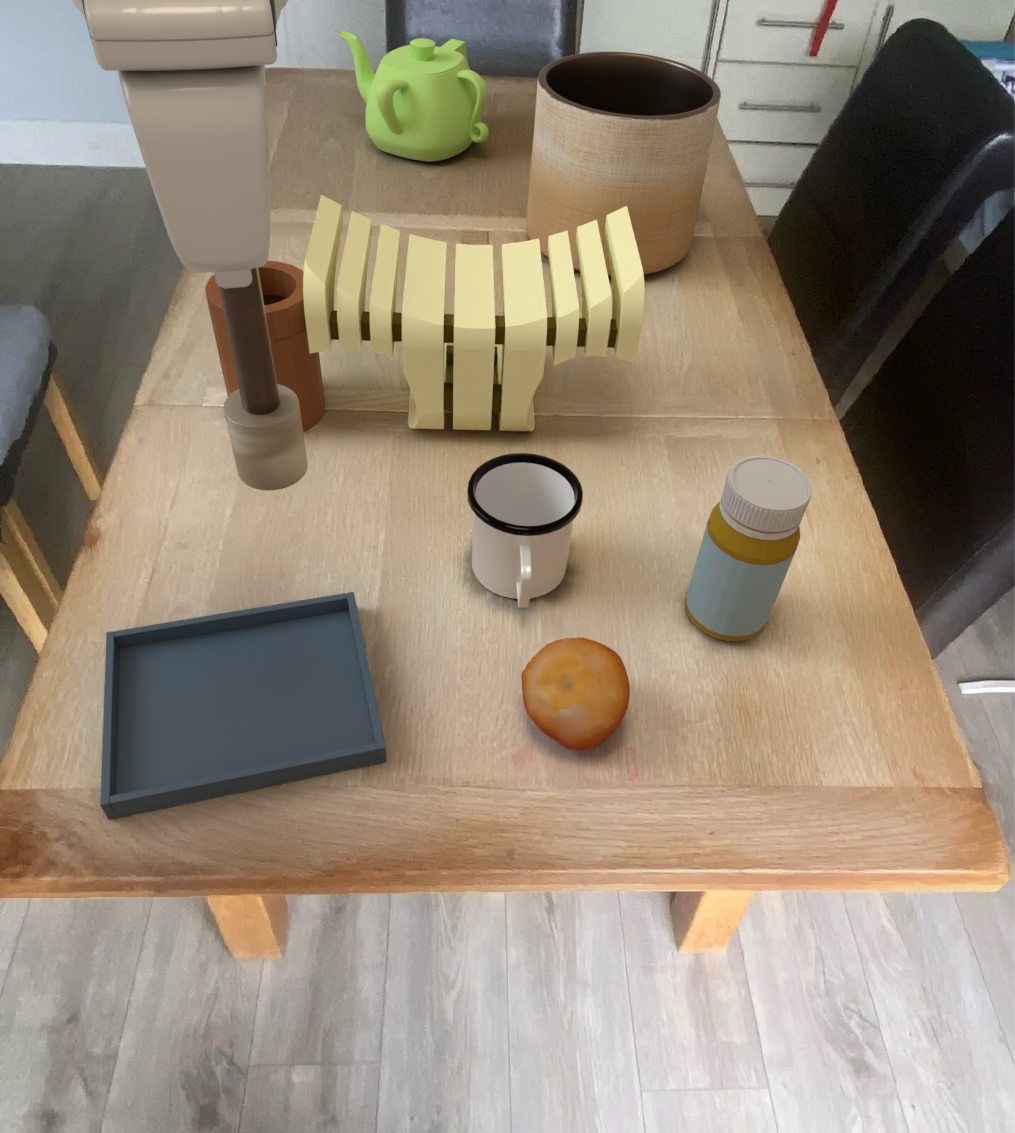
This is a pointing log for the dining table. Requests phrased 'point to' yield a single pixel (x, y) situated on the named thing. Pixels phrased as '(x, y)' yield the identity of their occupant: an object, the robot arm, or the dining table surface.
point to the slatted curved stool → (473, 312)
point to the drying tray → (235, 704)
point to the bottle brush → (260, 398)
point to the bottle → (747, 547)
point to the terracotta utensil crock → (278, 338)
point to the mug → (522, 524)
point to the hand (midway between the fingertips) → (232, 263)
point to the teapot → (421, 99)
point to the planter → (621, 150)
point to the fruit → (576, 692)
